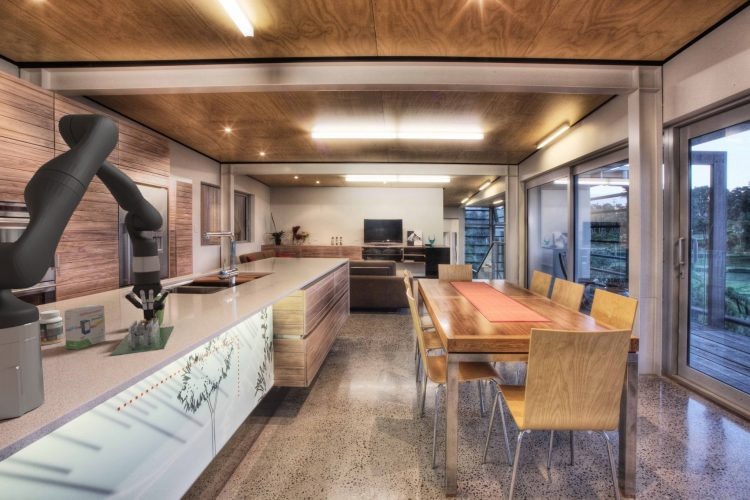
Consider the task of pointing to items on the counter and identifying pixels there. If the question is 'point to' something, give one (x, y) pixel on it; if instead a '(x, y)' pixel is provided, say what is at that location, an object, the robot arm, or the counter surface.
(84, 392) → the counter surface
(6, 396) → the robot arm
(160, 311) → the beverage can
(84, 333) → the ink box
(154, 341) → the heatsink board
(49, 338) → the pill bottle
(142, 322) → the grey and orange bar
